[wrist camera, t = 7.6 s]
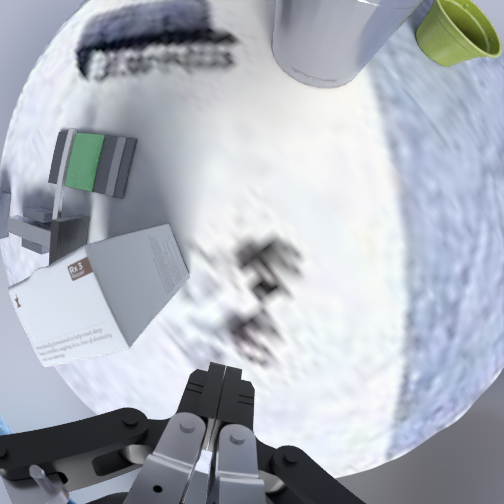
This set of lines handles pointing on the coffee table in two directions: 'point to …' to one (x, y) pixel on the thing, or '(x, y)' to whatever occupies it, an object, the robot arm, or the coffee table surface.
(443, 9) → the plant pot
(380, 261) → the coffee table surface
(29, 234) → the grey l-shaped bracket
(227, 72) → the coffee table surface
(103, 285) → the skincare box
